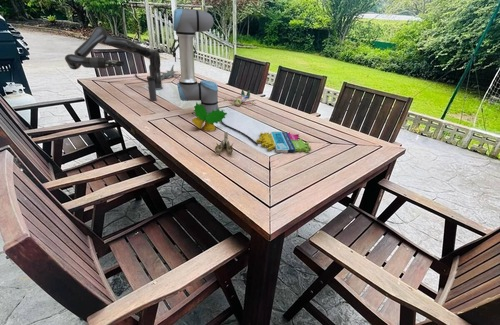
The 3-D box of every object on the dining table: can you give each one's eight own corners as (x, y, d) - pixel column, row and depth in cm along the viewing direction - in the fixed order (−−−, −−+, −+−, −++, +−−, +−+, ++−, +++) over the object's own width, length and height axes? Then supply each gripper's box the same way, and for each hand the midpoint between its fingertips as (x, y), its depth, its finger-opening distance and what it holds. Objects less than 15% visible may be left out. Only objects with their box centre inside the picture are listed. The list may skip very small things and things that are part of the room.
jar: (152, 101, 206) (149, 78, 197) (148, 100, 208) (145, 77, 199) (158, 100, 209) (155, 77, 201) (154, 99, 212) (151, 76, 203)
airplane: (149, 74, 290) (148, 65, 285) (178, 73, 303) (177, 64, 298) (156, 82, 262) (155, 72, 257) (187, 81, 275) (186, 71, 270)
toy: (261, 91, 228) (254, 99, 202) (261, 99, 231) (253, 108, 205) (231, 87, 233) (220, 95, 207) (230, 95, 236) (219, 104, 210)
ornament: (218, 133, 171) (224, 110, 169) (221, 134, 163) (227, 111, 161) (186, 125, 162) (192, 101, 160) (189, 126, 155) (195, 101, 153)
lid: (150, 81, 197) (149, 77, 196) (145, 79, 200) (145, 76, 199) (156, 80, 202) (156, 77, 200) (151, 78, 204) (151, 75, 203)
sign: (313, 150, 142) (258, 149, 139) (312, 153, 143) (258, 152, 140) (301, 132, 164) (254, 130, 161) (301, 134, 165) (254, 133, 162)
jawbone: (234, 135, 144) (233, 125, 135) (233, 160, 138) (232, 151, 129) (217, 135, 144) (216, 125, 135) (216, 160, 138) (214, 150, 129)
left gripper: (94, 58, 179) (120, 59, 183) (99, 55, 191) (123, 56, 195) (97, 70, 183) (122, 70, 187) (101, 66, 195) (125, 67, 199)
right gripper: (198, 33, 207) (199, 61, 218) (165, 31, 201) (168, 60, 211) (199, 33, 201) (200, 62, 211) (165, 32, 194) (168, 62, 205)
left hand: (123, 63), depth 191 cm, fingers open, 8 cm apart
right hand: (184, 61), depth 211 cm, fingers open, 13 cm apart
